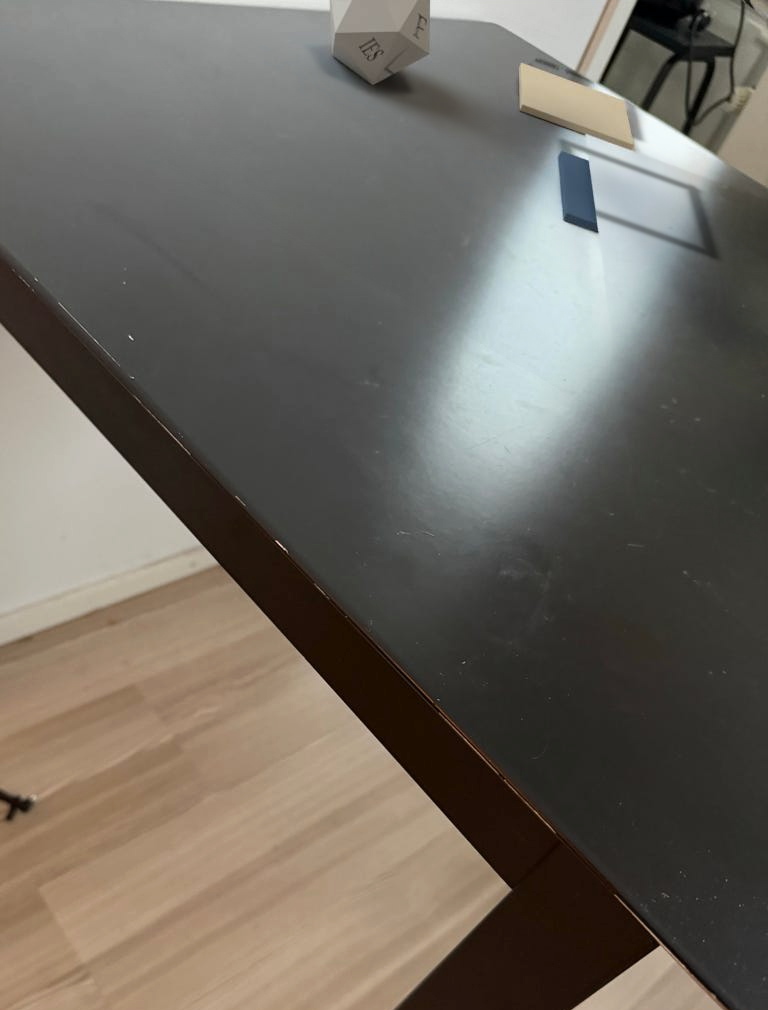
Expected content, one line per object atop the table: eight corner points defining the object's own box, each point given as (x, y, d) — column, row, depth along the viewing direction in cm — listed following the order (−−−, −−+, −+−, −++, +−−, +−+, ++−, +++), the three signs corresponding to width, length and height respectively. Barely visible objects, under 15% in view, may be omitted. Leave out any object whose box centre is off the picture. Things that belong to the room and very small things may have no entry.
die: (319, 88, 80) (421, 11, 74) (289, -13, 80) (388, -98, 74) (372, 118, 86) (469, 50, 80) (344, 25, 87) (438, -50, 81)
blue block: (685, 203, 83) (689, 196, 83) (703, 269, 76) (708, 263, 75) (557, 157, 82) (561, 150, 82) (563, 220, 74) (566, 212, 74)
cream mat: (621, 106, 95) (624, 100, 95) (630, 151, 88) (634, 144, 87) (518, 68, 94) (521, 62, 94) (519, 110, 87) (522, 103, 86)
